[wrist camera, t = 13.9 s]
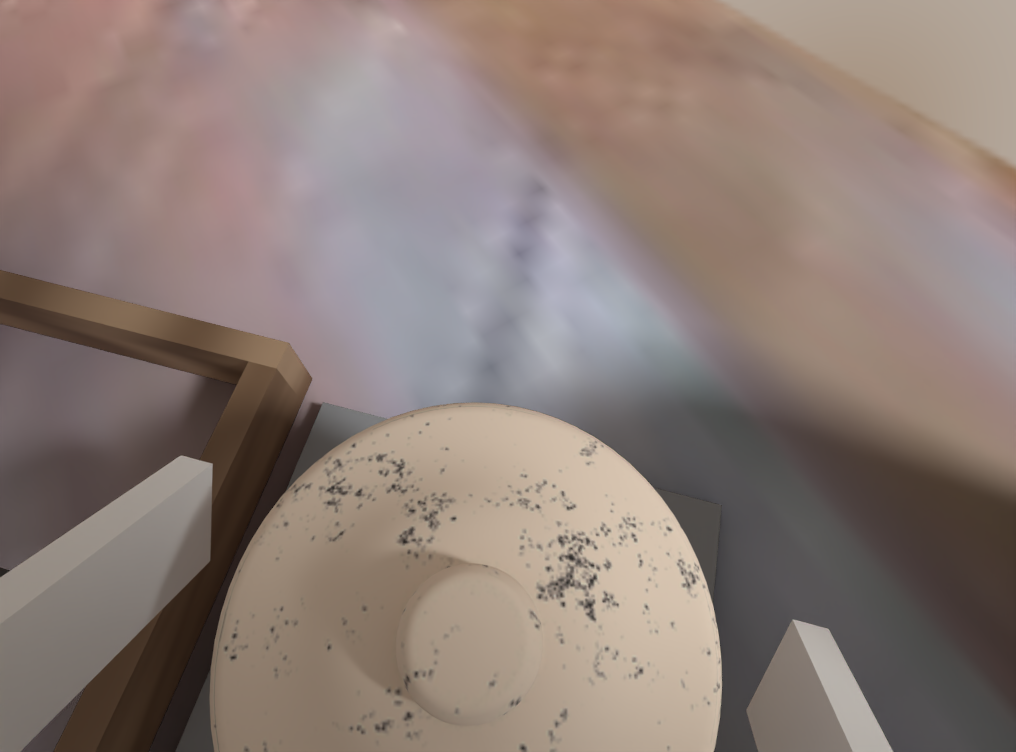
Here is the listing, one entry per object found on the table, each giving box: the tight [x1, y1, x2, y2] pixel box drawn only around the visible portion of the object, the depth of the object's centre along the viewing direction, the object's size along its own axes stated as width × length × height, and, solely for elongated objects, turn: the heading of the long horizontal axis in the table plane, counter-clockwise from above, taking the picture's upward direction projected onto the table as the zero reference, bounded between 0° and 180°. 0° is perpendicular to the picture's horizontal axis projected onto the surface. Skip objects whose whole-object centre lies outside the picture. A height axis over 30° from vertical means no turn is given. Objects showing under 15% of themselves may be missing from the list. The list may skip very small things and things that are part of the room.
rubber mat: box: [175, 402, 722, 752], centre depth 18 cm, size 15×15×1 cm
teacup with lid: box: [209, 403, 722, 752], centre depth 12 cm, size 12×9×12 cm
